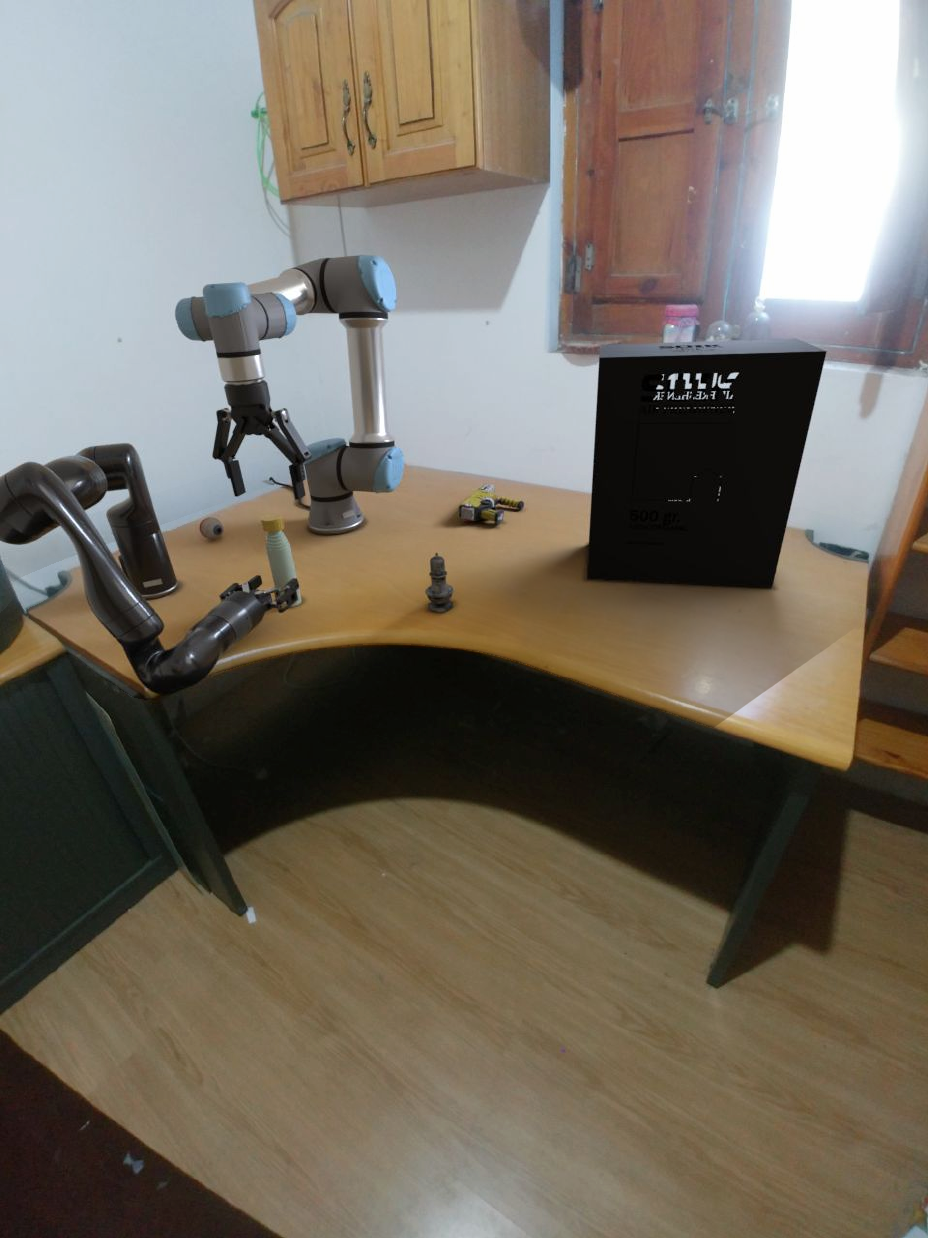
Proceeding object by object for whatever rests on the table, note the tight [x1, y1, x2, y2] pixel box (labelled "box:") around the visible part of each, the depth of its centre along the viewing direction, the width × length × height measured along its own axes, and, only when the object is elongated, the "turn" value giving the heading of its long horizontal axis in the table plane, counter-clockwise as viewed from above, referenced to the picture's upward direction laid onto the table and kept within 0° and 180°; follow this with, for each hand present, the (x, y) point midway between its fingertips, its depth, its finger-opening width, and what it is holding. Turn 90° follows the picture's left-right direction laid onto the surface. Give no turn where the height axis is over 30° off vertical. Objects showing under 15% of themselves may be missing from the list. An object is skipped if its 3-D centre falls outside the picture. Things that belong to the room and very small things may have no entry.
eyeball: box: [198, 516, 224, 541], centre depth 163 cm, size 6×6×6 cm
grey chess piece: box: [424, 552, 455, 613], centre depth 122 cm, size 6×6×12 cm
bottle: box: [265, 529, 302, 609], centre depth 126 cm, size 5×5×19 cm
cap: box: [260, 513, 285, 533], centre depth 121 cm, size 4×4×2 cm
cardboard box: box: [586, 338, 828, 589], centre depth 126 cm, size 38×20×45 cm, turn 78°
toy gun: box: [457, 482, 525, 525], centre depth 171 cm, size 5×24×15 cm
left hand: (278, 580), depth 125 cm, fingers open, 8 cm apart
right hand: (270, 496), depth 118 cm, fingers open, 13 cm apart
